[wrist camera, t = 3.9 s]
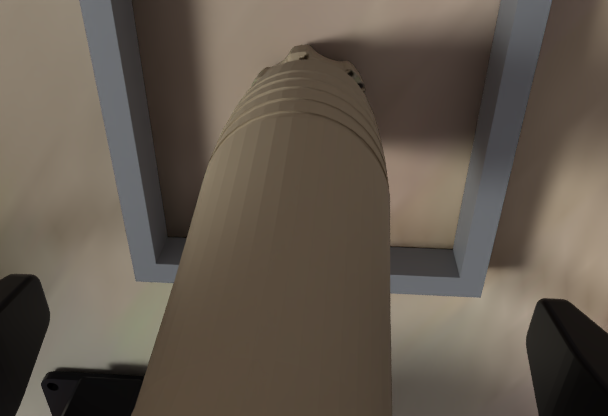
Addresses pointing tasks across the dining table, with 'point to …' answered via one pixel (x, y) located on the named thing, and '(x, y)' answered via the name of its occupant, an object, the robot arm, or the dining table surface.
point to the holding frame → (403, 261)
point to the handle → (284, 260)
